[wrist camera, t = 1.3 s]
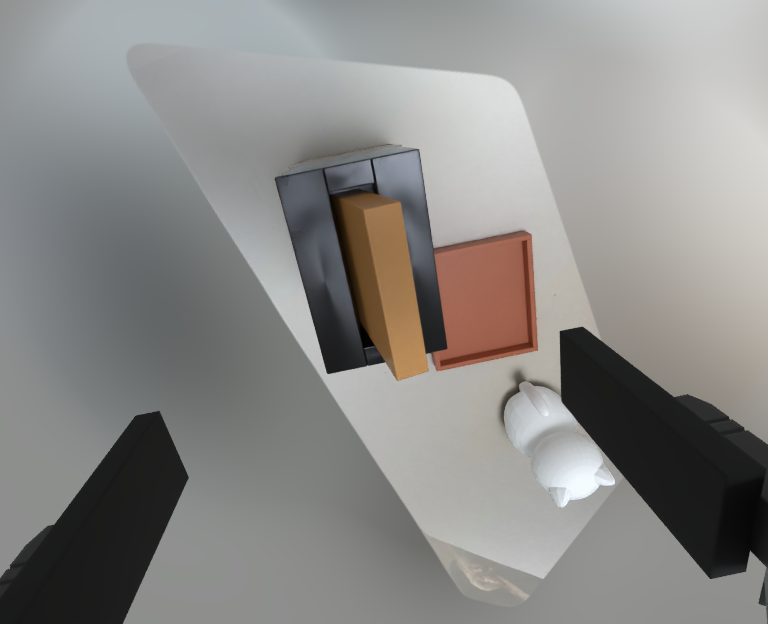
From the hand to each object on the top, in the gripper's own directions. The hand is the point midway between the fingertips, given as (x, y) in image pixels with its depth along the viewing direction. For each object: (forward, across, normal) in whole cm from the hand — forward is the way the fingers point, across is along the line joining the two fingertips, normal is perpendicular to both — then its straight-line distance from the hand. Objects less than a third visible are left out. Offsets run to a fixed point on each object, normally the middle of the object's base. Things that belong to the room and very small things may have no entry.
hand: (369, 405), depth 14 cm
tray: (+38, +14, -13) cm, 42 cm away
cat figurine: (+38, +19, -30) cm, 52 cm away
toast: (+20, 0, 0) cm, 20 cm away
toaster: (+38, +1, 0) cm, 38 cm away
